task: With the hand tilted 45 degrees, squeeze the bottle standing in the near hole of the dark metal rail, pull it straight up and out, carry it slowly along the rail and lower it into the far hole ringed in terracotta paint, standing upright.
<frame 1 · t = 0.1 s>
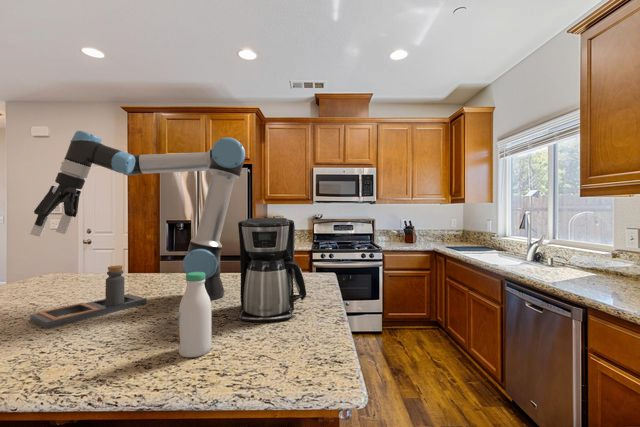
hand: (48, 234, 102), 28 cm above the countertop, tool tilted 20°, fingers open, 13 cm apart
rail: (93, 311, 107), on the countertop
milk bottle: (195, 352, 77), on the countertop
bottle: (114, 307, 113), resting in rail
coffee maker: (274, 309, 113), on the countertop
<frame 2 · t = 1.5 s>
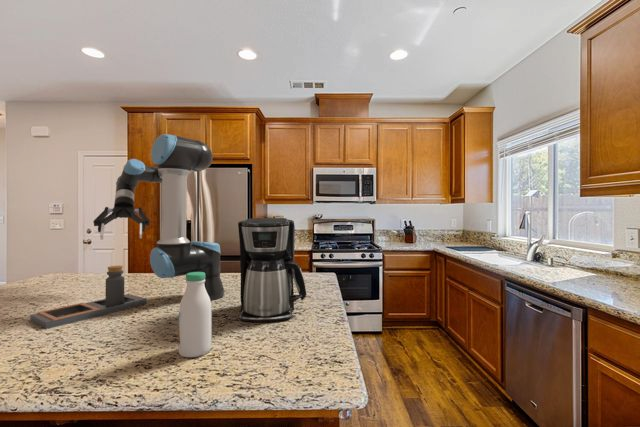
hand: (121, 237, 126), 25 cm above the countertop, tool tilted 45°, fingers open, 13 cm apart
nothing on the countertop moved.
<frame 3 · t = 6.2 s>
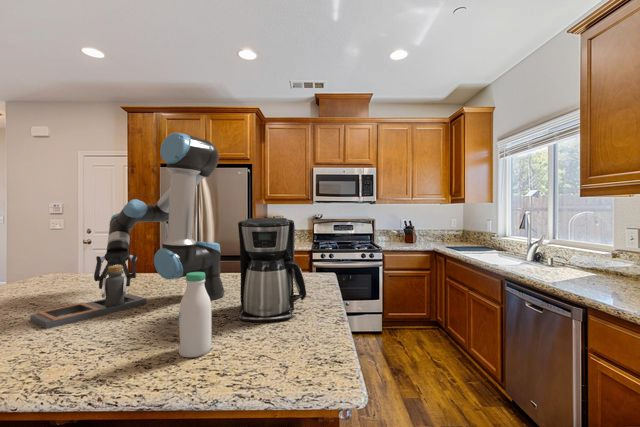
hand: (113, 294, 110), 5 cm above the countertop, tool tilted 45°, fingers closed on bottle, 6 cm apart
bottle: (114, 307, 113), resting in rail, touching gripper
everything else where it was.
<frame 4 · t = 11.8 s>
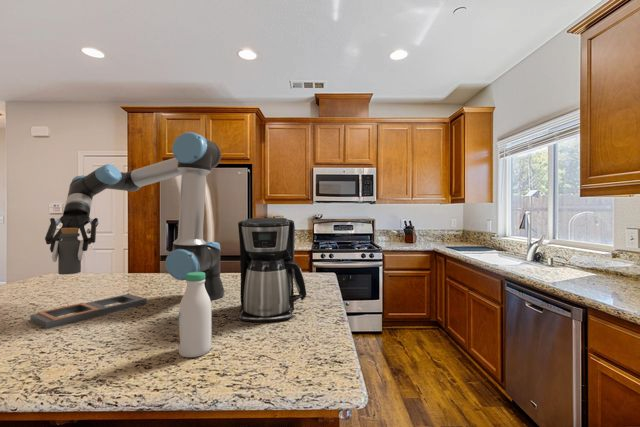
hand: (67, 258, 98), 20 cm above the countertop, tool tilted 45°, fingers closed on bottle, 6 cm apart
bottle: (69, 273, 101), point 15 cm above the countertop, touching gripper
everything else where it was.
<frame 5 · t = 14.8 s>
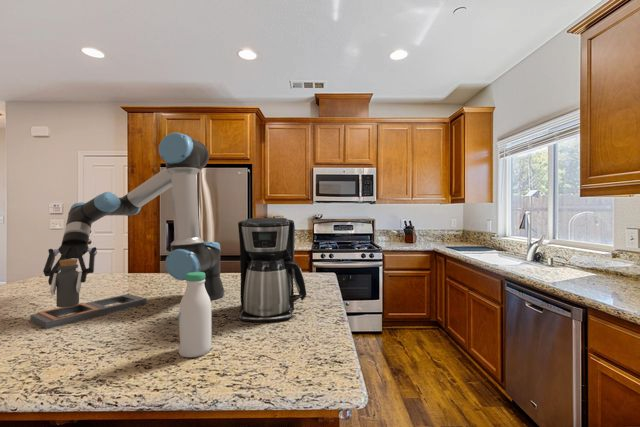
hand: (65, 291, 98), 10 cm above the countertop, tool tilted 45°, fingers closed on bottle, 6 cm apart
bottle: (67, 305, 102), point 4 cm above the countertop, touching gripper
everything else where it was.
when the fingers open (6 cm above the countertop, at t = 17.4 s): bottle stays where it is, resting in rail.
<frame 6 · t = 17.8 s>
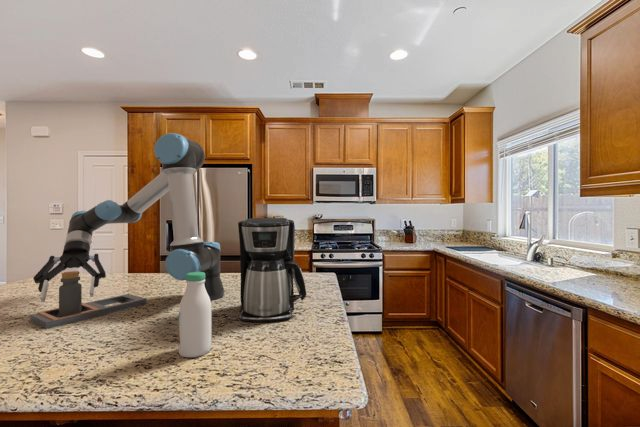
hand: (67, 297, 99), 7 cm above the countertop, tool tilted 45°, fingers open, 12 cm apart
bottle: (70, 317, 102), resting in rail
everything else where it was.
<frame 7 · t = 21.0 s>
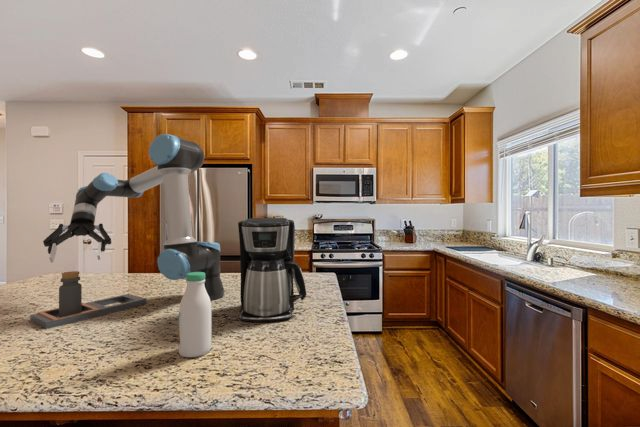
hand: (75, 258, 110), 18 cm above the countertop, tool tilted 45°, fingers open, 13 cm apart
nothing on the countertop moved.
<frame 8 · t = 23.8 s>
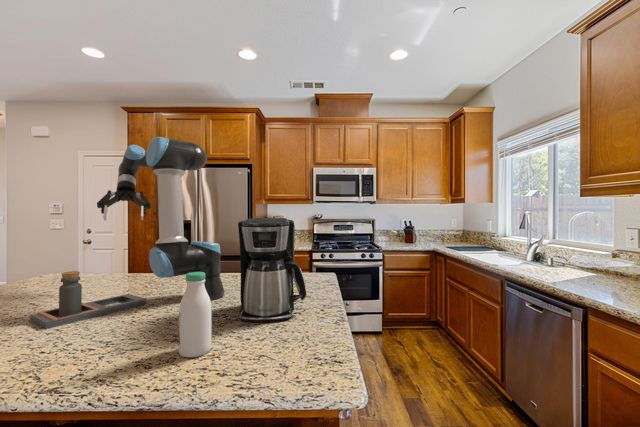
hand: (123, 218, 131), 33 cm above the countertop, tool tilted 45°, fingers open, 13 cm apart
nothing on the countertop moved.
at the end: bottle 0.3 cm from the target spot on the rail, point 0.0 cm above the rail's base; bottle tilted 0°; the gripper is holding nothing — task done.
